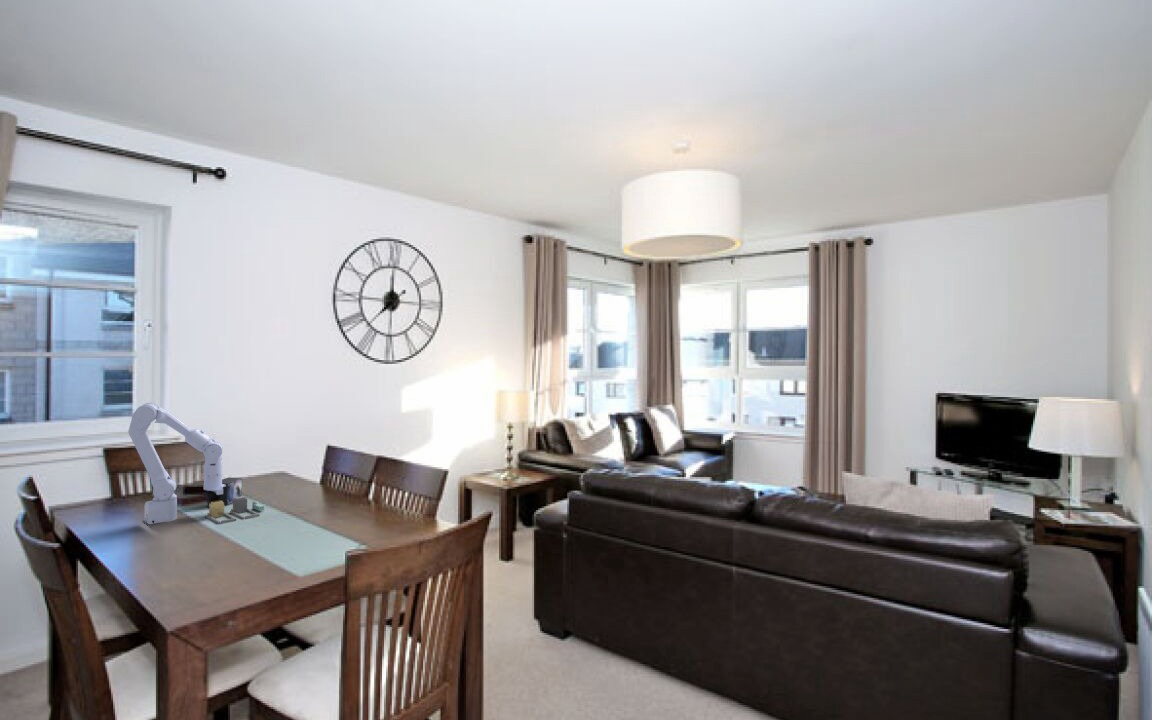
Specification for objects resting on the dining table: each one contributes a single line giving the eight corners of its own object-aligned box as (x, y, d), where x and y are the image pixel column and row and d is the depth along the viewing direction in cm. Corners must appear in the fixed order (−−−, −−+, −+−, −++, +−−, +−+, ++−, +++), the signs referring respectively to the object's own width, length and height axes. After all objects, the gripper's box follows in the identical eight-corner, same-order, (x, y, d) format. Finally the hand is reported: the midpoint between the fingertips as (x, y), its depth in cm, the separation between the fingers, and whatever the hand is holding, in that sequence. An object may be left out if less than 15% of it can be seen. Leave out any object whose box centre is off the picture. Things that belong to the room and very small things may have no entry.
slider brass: (212, 518, 215) (212, 503, 215) (209, 516, 217) (209, 501, 217) (224, 515, 218) (224, 501, 218) (221, 514, 220) (221, 499, 220)
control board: (209, 530, 205) (209, 523, 205) (194, 521, 216) (194, 515, 216) (274, 517, 222) (275, 511, 222) (257, 509, 232) (257, 503, 232)
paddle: (258, 512, 223) (258, 505, 223) (251, 509, 228) (251, 502, 228) (264, 511, 225) (264, 504, 225) (257, 508, 229) (257, 501, 229)
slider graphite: (235, 513, 221) (235, 499, 221) (232, 512, 223) (232, 497, 223) (247, 511, 224) (247, 497, 224) (244, 510, 226) (244, 495, 226)
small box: (227, 509, 232) (227, 483, 232) (211, 508, 232) (211, 482, 232) (242, 502, 243) (243, 477, 243) (227, 502, 243) (227, 477, 243)
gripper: (232, 475, 218) (232, 512, 219) (218, 470, 228) (217, 505, 228) (211, 478, 213) (210, 515, 213) (197, 473, 222) (197, 508, 223)
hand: (213, 510), depth 220 cm, fingers closed
